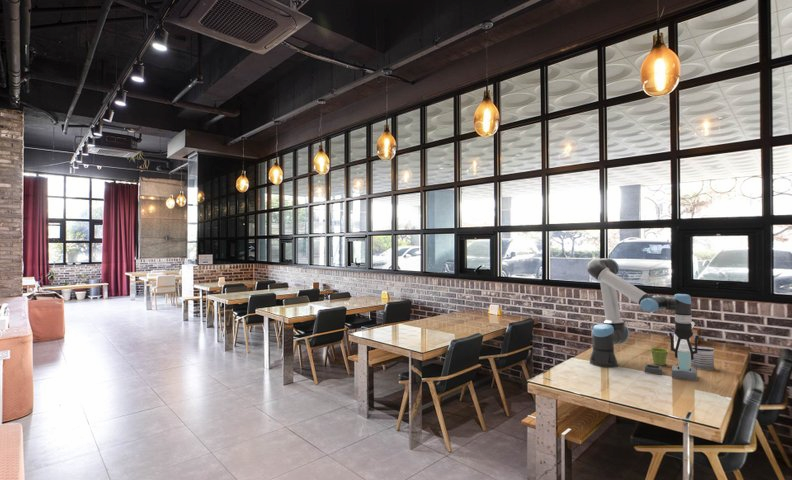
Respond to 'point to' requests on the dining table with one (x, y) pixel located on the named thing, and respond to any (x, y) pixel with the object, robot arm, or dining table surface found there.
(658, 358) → the plant pot
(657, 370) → the holster
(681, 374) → the port block
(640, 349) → the dining table surface
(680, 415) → the dining table surface
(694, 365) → the can
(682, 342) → the cylinder with rectangular tab
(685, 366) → the plug
